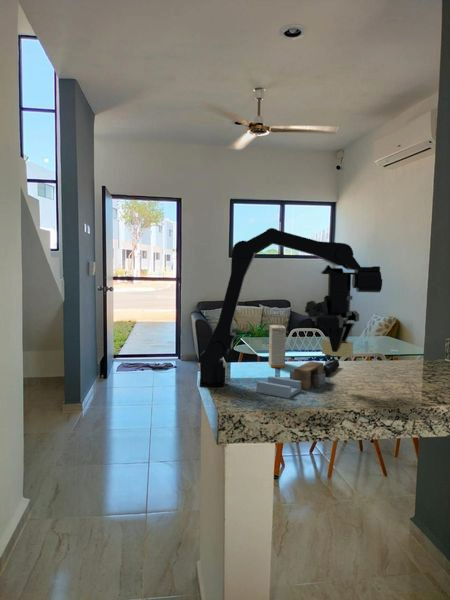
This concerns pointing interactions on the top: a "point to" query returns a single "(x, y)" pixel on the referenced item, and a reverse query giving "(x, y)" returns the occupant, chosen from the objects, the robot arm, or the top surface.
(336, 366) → the electric trimmer
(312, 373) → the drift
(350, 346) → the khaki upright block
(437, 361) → the top surface
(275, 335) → the supplement box
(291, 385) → the cradle
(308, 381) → the beam
